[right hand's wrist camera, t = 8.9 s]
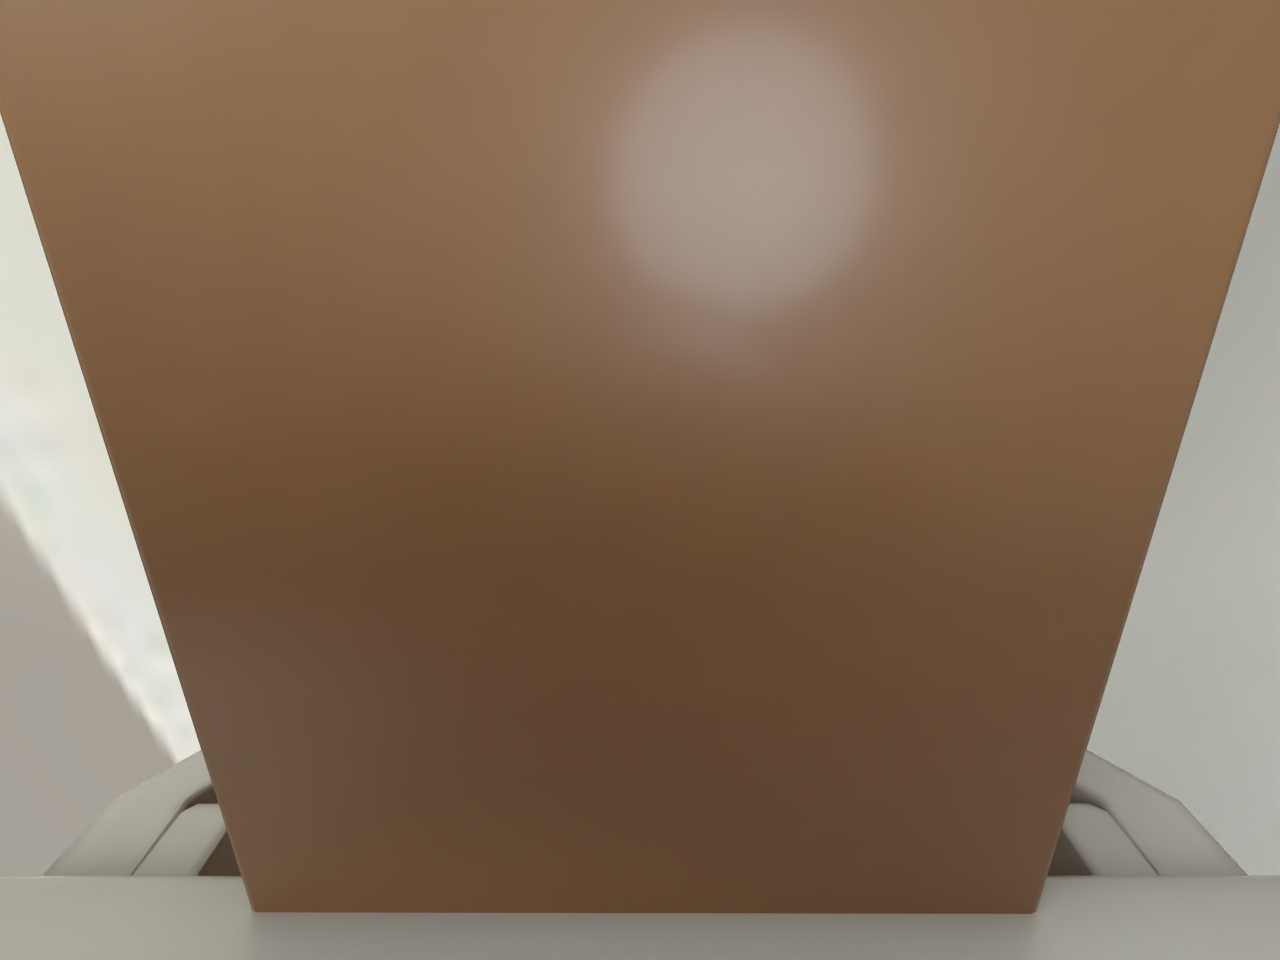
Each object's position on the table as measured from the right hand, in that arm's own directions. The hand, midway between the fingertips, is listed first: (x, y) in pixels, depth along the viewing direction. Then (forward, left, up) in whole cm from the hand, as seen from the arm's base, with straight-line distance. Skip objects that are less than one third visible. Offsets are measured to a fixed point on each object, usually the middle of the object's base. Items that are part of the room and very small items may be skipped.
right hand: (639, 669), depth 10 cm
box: (+10, 0, -7) cm, 12 cm away
